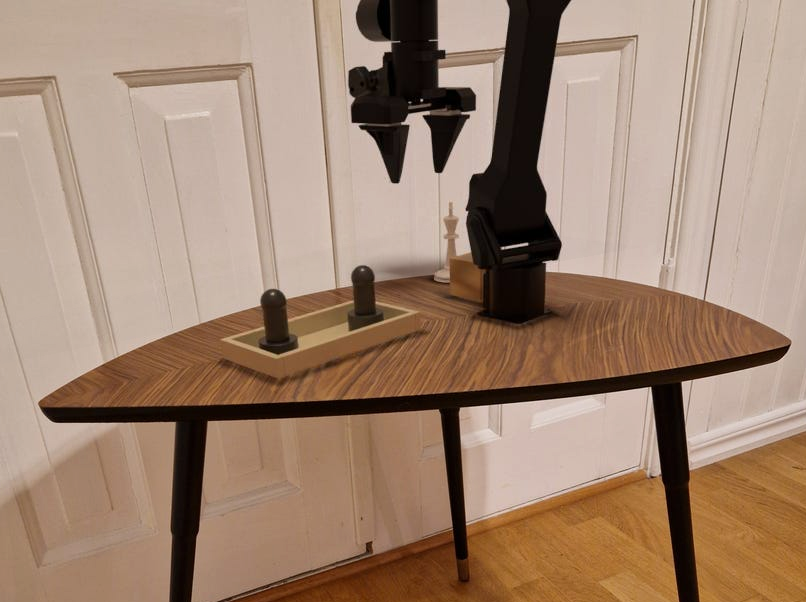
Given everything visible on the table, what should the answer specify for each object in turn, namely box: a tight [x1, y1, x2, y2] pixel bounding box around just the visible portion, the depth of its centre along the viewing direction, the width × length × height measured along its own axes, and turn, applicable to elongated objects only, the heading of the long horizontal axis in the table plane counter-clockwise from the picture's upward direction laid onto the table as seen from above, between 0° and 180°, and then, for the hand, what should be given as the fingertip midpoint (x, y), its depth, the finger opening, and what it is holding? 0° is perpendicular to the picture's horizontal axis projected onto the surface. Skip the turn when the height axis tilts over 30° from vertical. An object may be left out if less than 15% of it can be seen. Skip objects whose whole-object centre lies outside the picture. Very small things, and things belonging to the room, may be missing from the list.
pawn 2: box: [347, 264, 384, 332], centre depth 88 cm, size 4×4×7 cm
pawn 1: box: [258, 288, 299, 355], centre depth 81 cm, size 4×4×7 cm
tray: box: [219, 299, 422, 380], centre depth 86 cm, size 20×10×2 cm, turn 134°
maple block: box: [449, 251, 486, 302], centre depth 101 cm, size 5×5×5 cm
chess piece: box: [433, 201, 460, 284], centre depth 108 cm, size 5×5×10 cm
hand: (417, 178), depth 105 cm, fingers open, 9 cm apart
